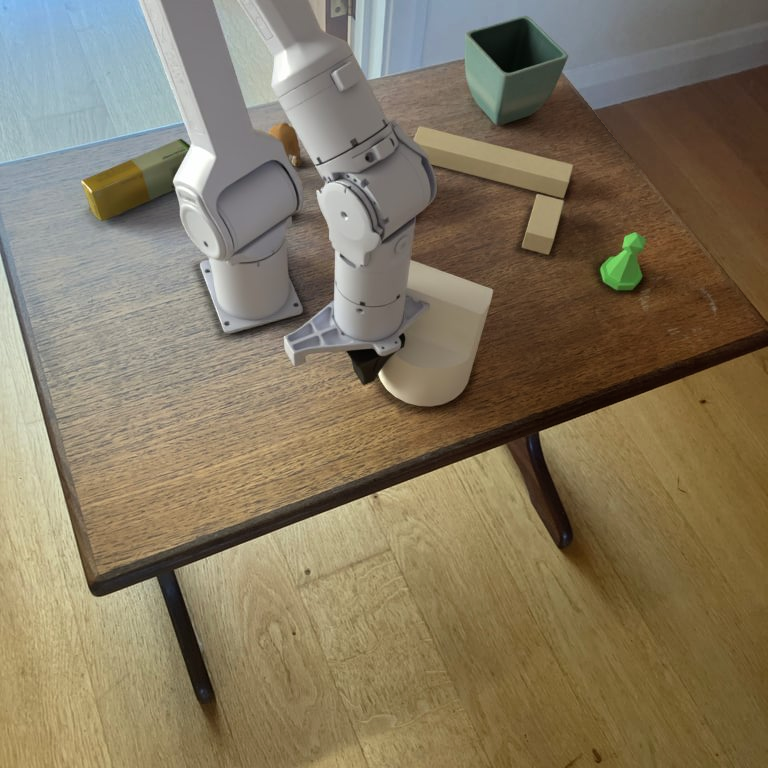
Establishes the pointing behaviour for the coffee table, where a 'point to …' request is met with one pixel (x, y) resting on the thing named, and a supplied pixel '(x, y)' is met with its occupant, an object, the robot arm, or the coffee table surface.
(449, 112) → the coffee table surface
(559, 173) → the bay
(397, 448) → the coffee table surface
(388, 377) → the base with upright slab
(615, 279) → the game piece
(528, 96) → the flower pot
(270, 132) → the lion figurine
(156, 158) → the medication box
